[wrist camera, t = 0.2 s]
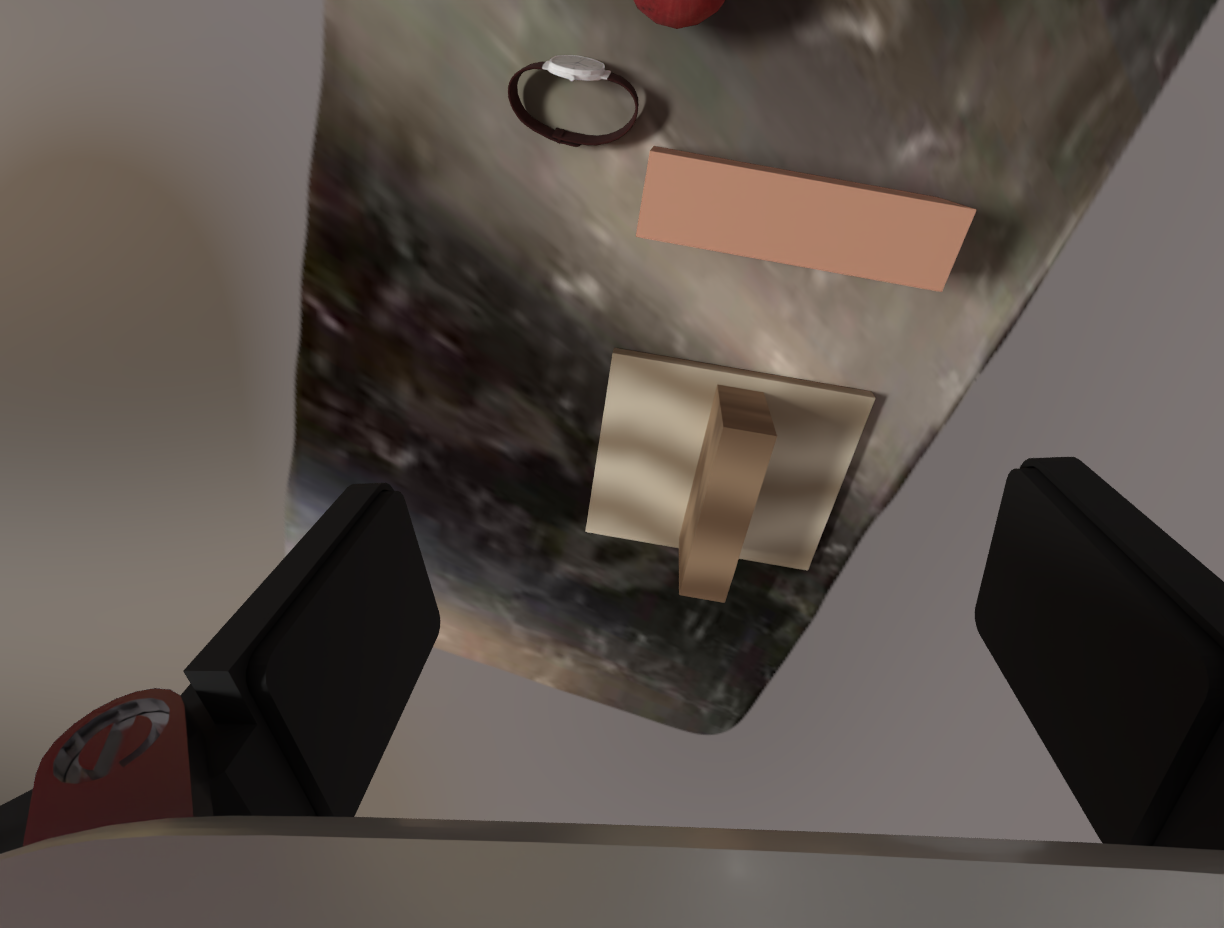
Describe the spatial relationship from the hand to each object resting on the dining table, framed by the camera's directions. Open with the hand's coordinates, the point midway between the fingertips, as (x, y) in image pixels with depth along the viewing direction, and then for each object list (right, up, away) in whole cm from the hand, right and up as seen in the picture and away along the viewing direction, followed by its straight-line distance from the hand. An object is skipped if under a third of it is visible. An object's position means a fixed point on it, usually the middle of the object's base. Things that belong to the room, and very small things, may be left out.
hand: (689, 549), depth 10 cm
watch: (-3, +24, +28) cm, 37 cm away
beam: (+10, +18, +30) cm, 36 cm away
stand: (+7, +1, +39) cm, 40 cm away
